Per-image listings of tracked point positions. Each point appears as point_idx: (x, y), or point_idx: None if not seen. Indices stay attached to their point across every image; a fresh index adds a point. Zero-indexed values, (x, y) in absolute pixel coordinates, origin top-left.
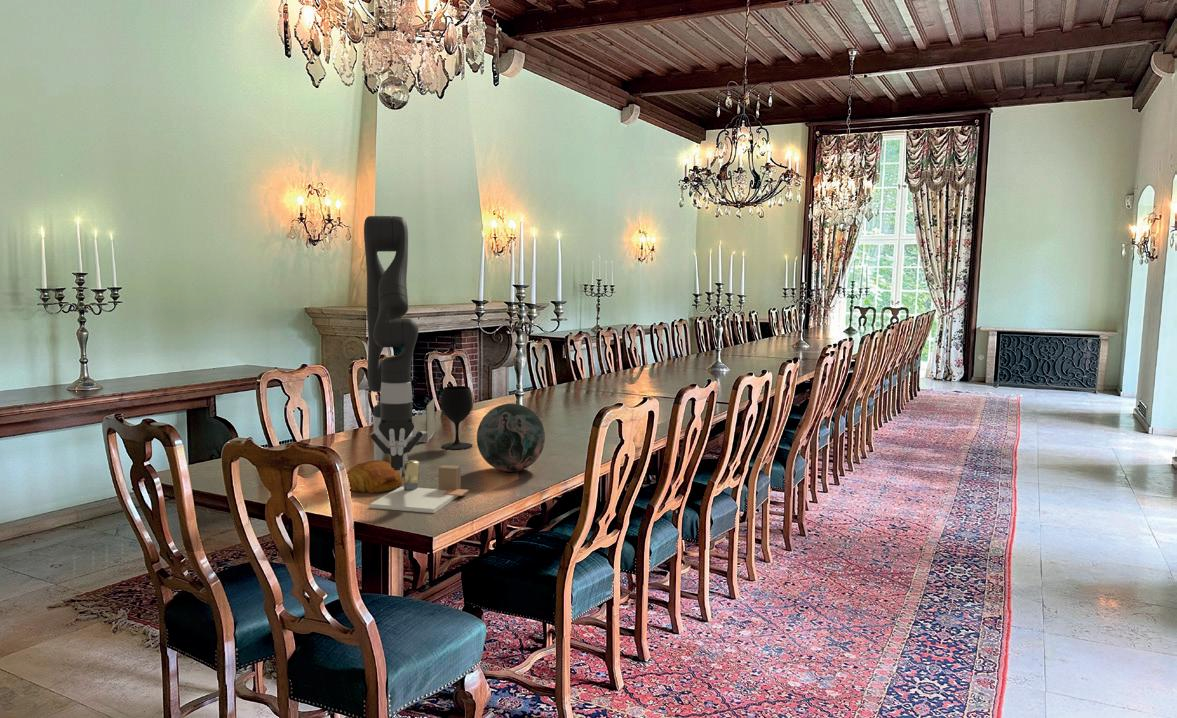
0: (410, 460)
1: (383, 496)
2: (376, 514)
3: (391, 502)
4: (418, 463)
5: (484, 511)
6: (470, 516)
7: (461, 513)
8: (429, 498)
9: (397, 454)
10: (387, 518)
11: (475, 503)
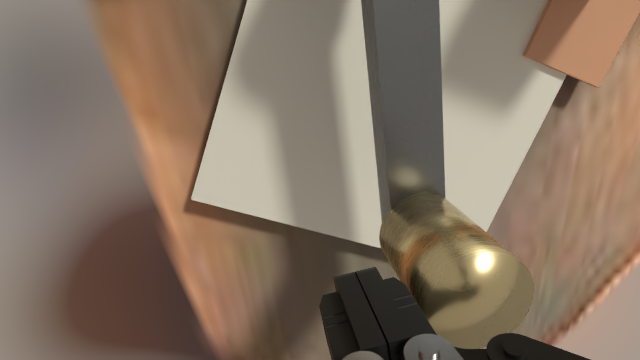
0: (474, 264)
1: (229, 69)
2: (243, 277)
3: (289, 180)
4: (521, 306)
5: (624, 242)
6: (569, 293)
7: (548, 263)
8: (456, 121)
9: (397, 357)
10: (295, 320)
11: (620, 142)
